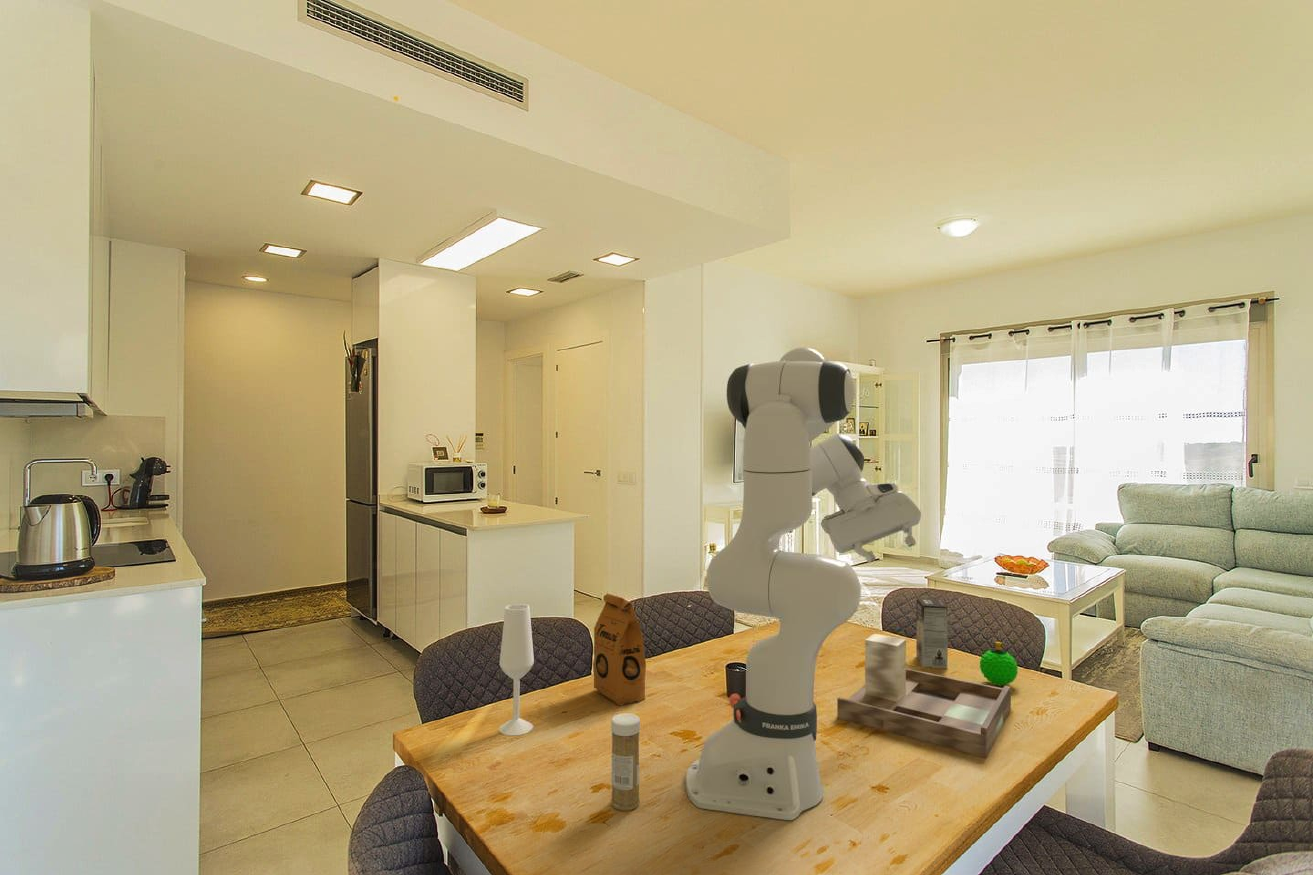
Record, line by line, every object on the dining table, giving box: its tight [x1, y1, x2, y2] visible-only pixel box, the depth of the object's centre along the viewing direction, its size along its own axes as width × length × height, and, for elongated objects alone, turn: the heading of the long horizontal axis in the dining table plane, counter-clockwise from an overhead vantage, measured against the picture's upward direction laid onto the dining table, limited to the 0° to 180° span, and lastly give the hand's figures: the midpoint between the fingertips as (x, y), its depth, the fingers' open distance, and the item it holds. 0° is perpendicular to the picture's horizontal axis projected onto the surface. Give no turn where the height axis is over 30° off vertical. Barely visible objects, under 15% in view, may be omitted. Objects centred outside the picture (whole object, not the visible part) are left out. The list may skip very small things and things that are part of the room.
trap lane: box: [836, 667, 1012, 758], centre depth 137 cm, size 28×28×5 cm
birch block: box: [864, 633, 907, 702], centre depth 142 cm, size 7×6×12 cm
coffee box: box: [915, 597, 949, 670], centre depth 169 cm, size 9×6×16 cm
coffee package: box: [592, 592, 647, 706], centre depth 145 cm, size 10×12×22 cm
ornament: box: [979, 641, 1019, 686], centre depth 154 cm, size 8×8×10 cm
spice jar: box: [610, 712, 641, 812], centre depth 101 cm, size 5×5×14 cm
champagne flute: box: [498, 603, 535, 736], centre depth 128 cm, size 7×7×24 cm
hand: (892, 552), depth 137 cm, fingers open, 8 cm apart
